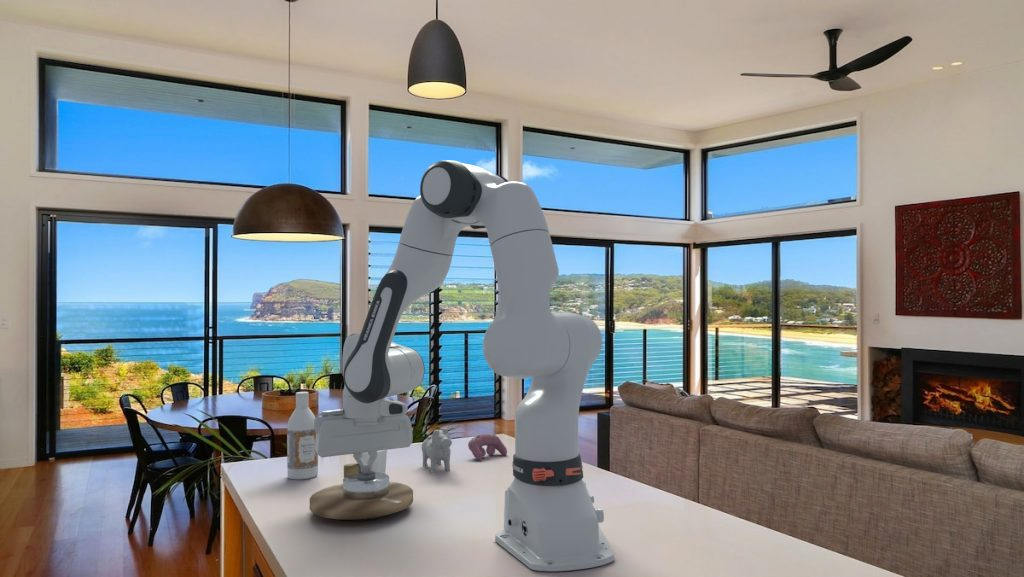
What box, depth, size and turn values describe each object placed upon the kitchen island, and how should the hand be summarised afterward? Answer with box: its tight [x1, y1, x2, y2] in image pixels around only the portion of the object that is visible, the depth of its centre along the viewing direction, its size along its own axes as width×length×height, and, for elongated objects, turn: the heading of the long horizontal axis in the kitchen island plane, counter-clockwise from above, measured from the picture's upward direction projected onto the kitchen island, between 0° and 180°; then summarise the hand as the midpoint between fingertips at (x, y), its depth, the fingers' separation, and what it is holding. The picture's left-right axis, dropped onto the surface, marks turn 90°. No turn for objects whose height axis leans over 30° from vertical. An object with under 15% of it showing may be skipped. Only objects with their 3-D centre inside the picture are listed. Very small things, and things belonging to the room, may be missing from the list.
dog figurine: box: [421, 427, 453, 474], centre depth 163 cm, size 5×13×11 cm, turn 27°
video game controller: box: [467, 433, 508, 462], centre depth 176 cm, size 10×5×7 cm, turn 130°
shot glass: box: [360, 450, 388, 474], centre depth 156 cm, size 7×7×7 cm
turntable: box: [309, 462, 414, 520], centre depth 132 cm, size 20×20×6 cm
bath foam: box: [286, 391, 319, 481], centre depth 159 cm, size 7×7×20 cm
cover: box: [342, 471, 390, 500], centre depth 133 cm, size 9×9×4 cm
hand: (365, 472), depth 141 cm, fingers closed
